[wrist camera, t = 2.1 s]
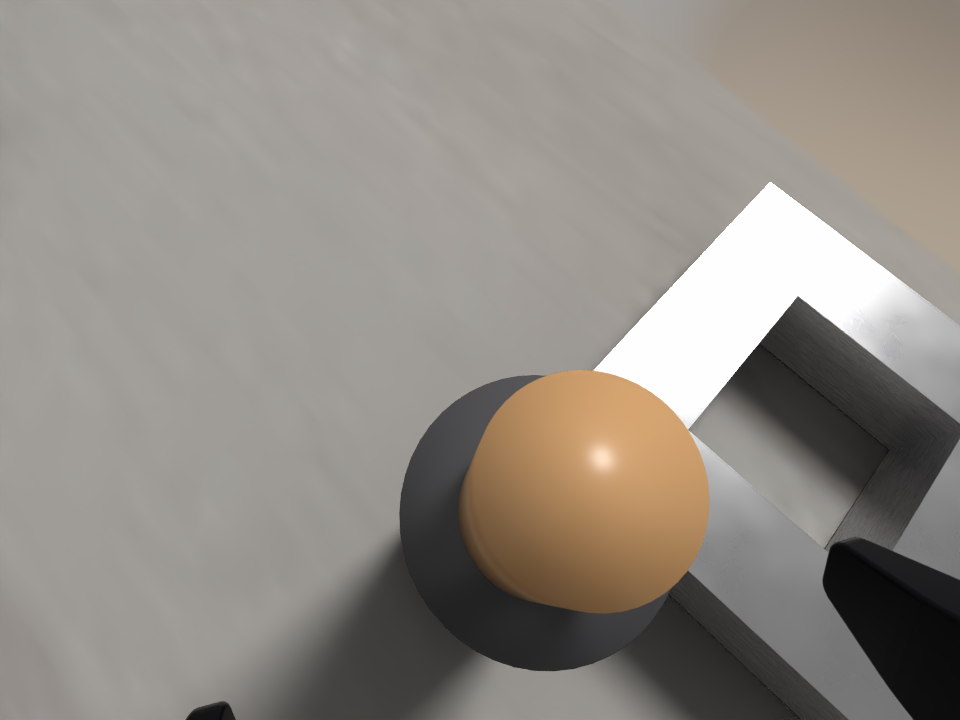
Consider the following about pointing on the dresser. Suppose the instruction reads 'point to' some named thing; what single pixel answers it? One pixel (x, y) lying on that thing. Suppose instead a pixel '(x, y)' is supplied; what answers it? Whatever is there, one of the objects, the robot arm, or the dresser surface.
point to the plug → (552, 516)
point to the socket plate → (849, 386)
